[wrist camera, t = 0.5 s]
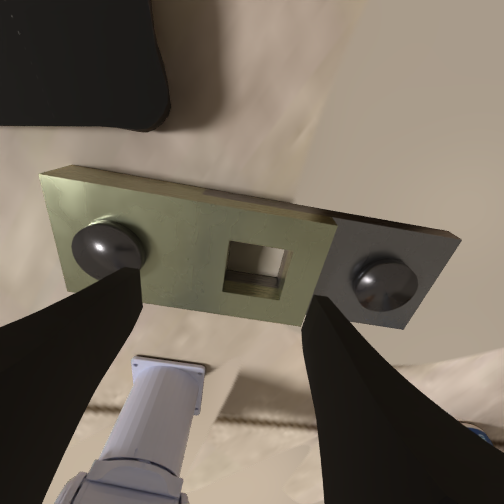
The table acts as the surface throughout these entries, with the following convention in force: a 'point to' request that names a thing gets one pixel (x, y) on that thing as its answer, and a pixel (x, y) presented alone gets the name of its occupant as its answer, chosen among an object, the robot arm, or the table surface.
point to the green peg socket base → (246, 231)
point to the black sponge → (81, 64)
